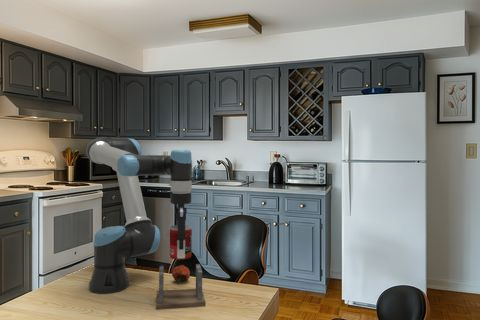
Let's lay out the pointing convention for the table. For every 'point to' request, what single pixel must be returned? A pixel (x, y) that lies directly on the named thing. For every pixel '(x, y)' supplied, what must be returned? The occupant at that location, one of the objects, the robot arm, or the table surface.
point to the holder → (180, 293)
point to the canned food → (174, 242)
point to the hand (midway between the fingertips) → (180, 255)
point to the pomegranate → (181, 273)
